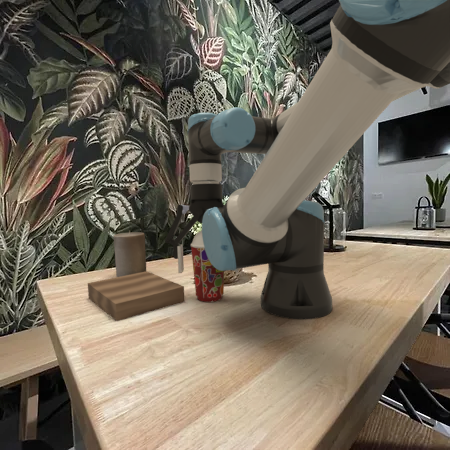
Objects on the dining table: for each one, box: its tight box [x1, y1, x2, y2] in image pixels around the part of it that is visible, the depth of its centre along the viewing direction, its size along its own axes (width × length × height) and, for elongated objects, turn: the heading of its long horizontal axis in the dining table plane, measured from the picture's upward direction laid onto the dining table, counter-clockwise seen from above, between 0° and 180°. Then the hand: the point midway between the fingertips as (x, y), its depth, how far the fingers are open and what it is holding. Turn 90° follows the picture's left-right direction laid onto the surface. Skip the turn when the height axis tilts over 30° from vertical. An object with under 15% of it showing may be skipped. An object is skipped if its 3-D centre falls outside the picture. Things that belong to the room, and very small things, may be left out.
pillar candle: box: [113, 230, 147, 277], centre depth 94 cm, size 10×10×15 cm
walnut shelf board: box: [87, 270, 185, 322], centre depth 70 cm, size 20×16×4 cm
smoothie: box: [190, 229, 225, 303], centre depth 69 cm, size 8×8×20 cm
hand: (208, 271), depth 70 cm, fingers open, 13 cm apart
